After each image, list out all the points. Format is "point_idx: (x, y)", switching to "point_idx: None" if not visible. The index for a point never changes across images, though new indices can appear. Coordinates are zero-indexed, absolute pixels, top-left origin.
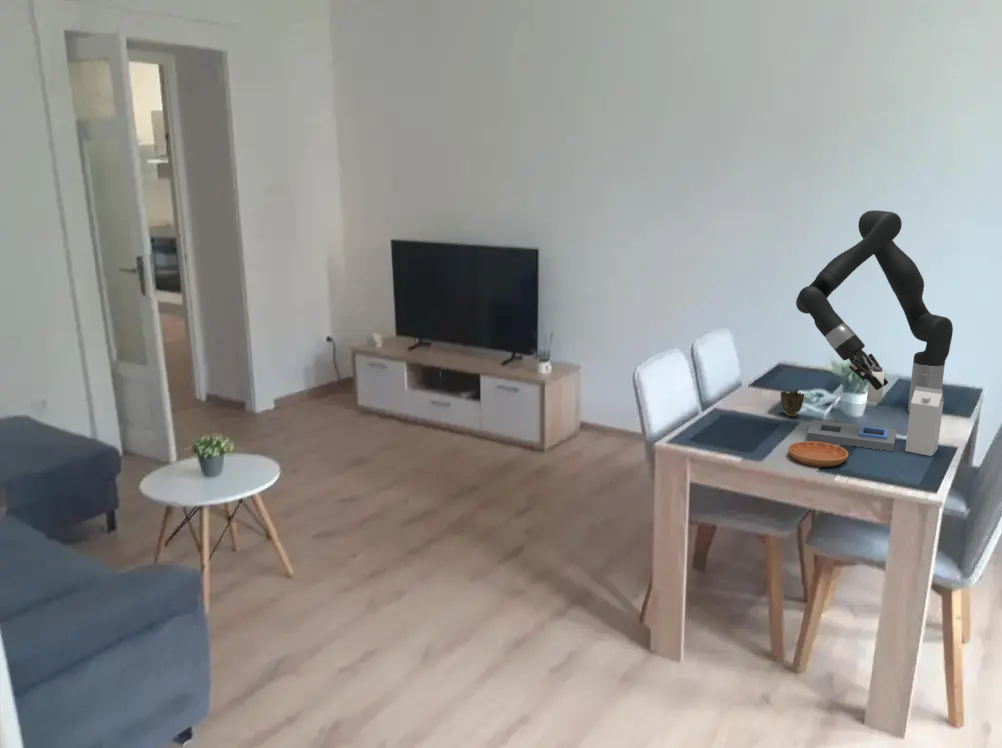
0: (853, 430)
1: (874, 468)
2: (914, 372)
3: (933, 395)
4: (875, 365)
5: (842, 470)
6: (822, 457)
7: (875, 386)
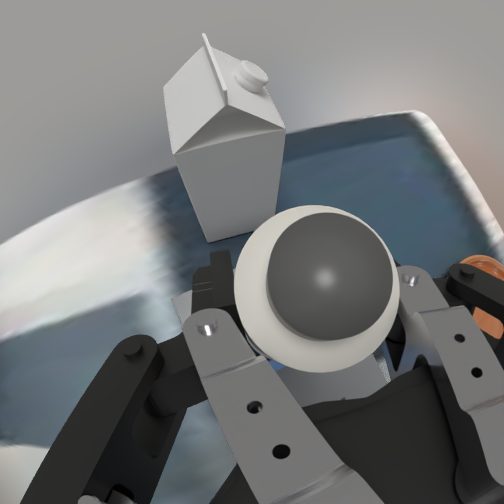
0: (289, 385)
1: (425, 216)
2: None
3: (222, 63)
4: (245, 362)
5: (477, 250)
6: (477, 310)
7: None
